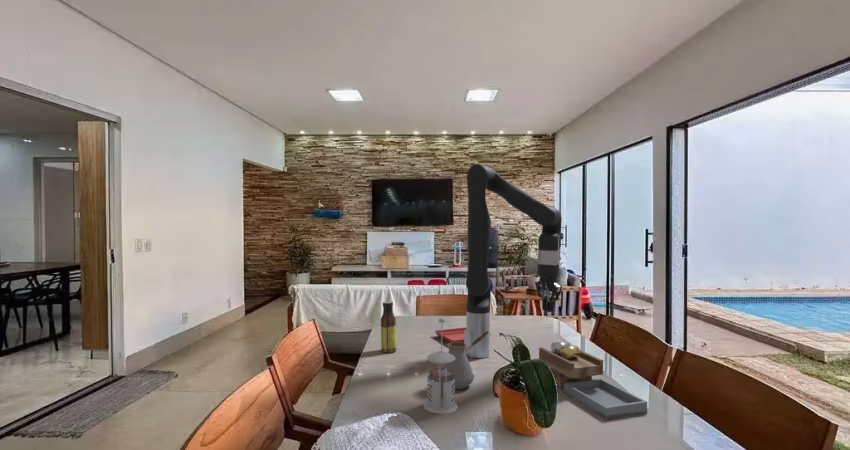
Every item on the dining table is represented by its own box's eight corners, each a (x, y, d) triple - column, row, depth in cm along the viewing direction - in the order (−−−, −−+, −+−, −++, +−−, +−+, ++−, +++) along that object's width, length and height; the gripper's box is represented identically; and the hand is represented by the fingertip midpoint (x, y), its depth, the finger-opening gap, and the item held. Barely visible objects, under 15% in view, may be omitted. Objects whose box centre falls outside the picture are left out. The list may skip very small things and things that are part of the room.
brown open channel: (570, 394, 125) (571, 363, 125) (538, 375, 141) (539, 347, 141) (602, 390, 128) (603, 360, 128) (568, 371, 144) (568, 345, 144)
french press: (456, 398, 121) (457, 314, 121) (460, 417, 109) (462, 323, 109) (422, 398, 121) (424, 314, 121) (424, 417, 109) (425, 323, 109)
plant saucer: (433, 337, 188) (433, 330, 188) (467, 333, 196) (467, 326, 196) (452, 348, 172) (452, 340, 172) (488, 343, 179) (488, 336, 179)
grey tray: (606, 419, 109) (606, 408, 109) (563, 392, 126) (563, 383, 126) (647, 412, 113) (647, 401, 113) (600, 387, 131) (600, 378, 131)
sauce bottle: (397, 349, 168) (398, 300, 168) (395, 353, 162) (395, 303, 162) (382, 348, 169) (382, 300, 169) (378, 353, 163) (379, 303, 163)
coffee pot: (455, 395, 124) (456, 345, 124) (431, 383, 132) (431, 337, 132) (501, 378, 137) (502, 334, 137) (476, 369, 146) (477, 327, 146)
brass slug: (569, 356, 131) (564, 344, 133) (562, 361, 134) (558, 349, 136) (582, 355, 133) (576, 343, 135) (575, 359, 135) (570, 348, 138)
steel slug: (558, 355, 136) (557, 343, 137) (551, 353, 140) (550, 341, 140) (571, 354, 138) (570, 342, 138) (563, 352, 142) (563, 340, 142)
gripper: (528, 261, 152) (528, 307, 152) (550, 264, 139) (550, 315, 139) (546, 261, 154) (545, 306, 154) (569, 264, 141) (568, 314, 141)
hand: (547, 310), depth 146 cm, fingers closed
